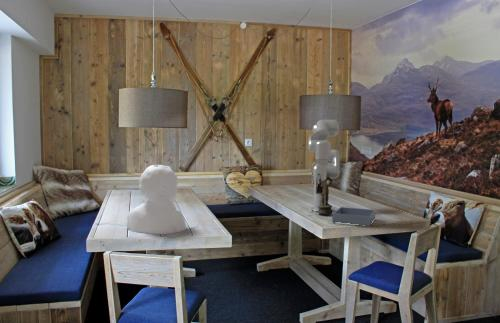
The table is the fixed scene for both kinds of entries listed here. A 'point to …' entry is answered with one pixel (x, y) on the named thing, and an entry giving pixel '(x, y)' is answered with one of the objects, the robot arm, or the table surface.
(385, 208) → the table surface
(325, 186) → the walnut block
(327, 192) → the statue
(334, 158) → the robot arm
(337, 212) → the slate bin
